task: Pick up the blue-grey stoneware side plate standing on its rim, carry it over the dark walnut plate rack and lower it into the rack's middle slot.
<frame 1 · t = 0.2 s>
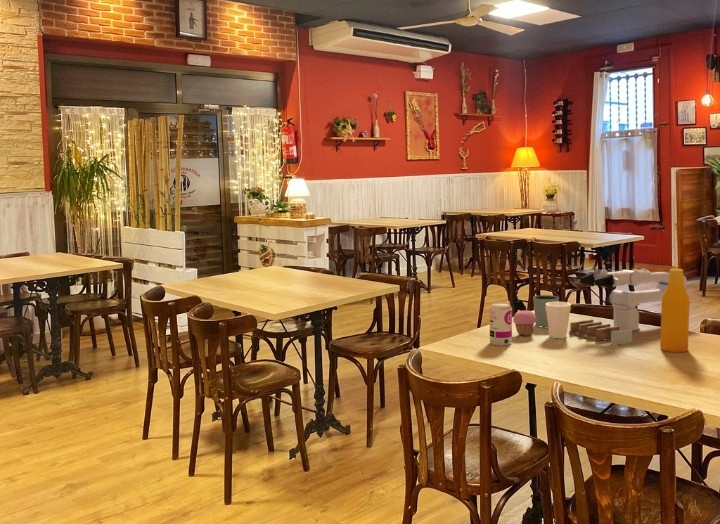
hand: (587, 281, 279), 21 cm above the table, tool horizontal, fingers open, 7 cm apart
foam cup: (557, 337, 282), on the table
plate: (621, 343, 269), on the table
grey-green pot: (545, 325, 302), on the table
rack: (594, 335, 282), on the table
beer bottle: (673, 349, 259), on the table
cupcake: (524, 335, 286), on the table
supplement can: (500, 344, 274), on the table
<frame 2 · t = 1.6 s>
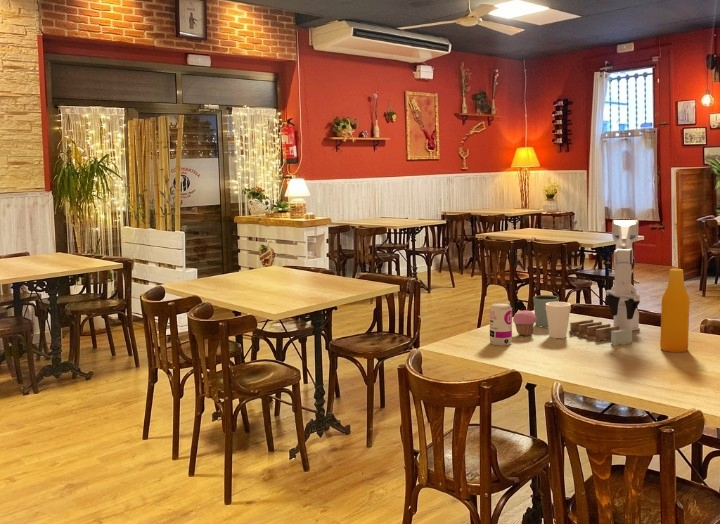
hand: (622, 317, 268), 10 cm above the table, tool pointing down, fingers open, 7 cm apart
nothing on the table moved.
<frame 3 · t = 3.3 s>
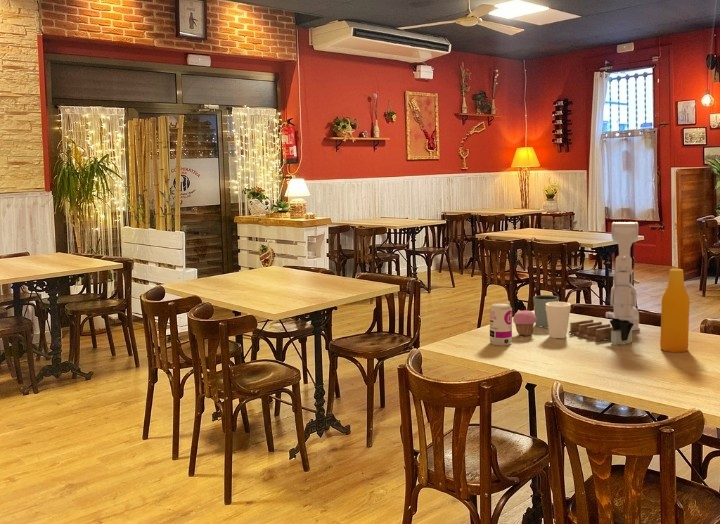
hand: (621, 339, 269), 1 cm above the table, tool pointing down, fingers closed on plate, 2 cm apart
plate: (621, 343, 269), on the table, touching gripper
everything else where it was.
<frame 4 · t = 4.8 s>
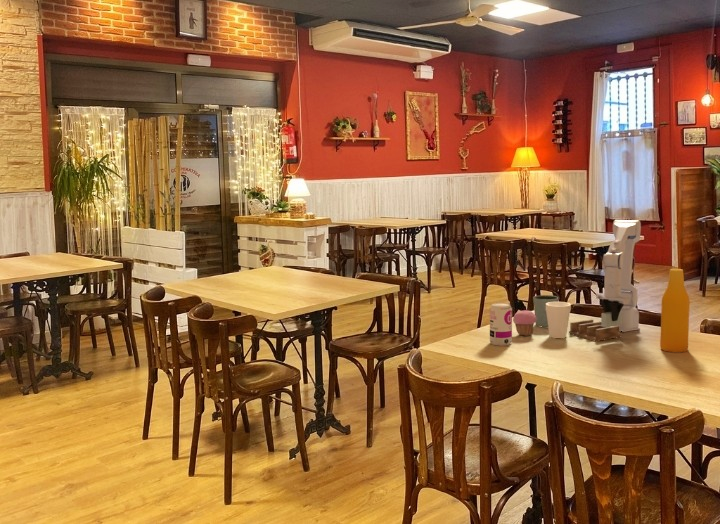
hand: (611, 320, 273), 8 cm above the table, tool pointing down, fingers closed on plate, 2 cm apart
plate: (611, 325, 273), point 6 cm above the table, touching gripper
everything else where it was.
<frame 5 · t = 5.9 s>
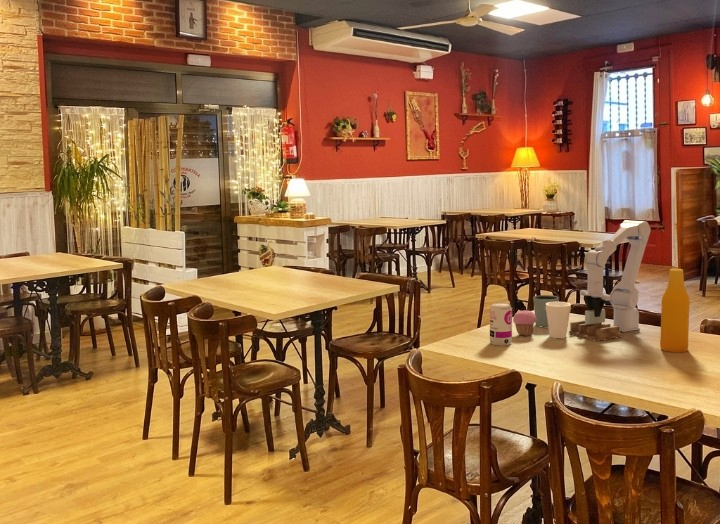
hand: (594, 316, 281), 8 cm above the table, tool pointing down, fingers closed on plate, 2 cm apart
plate: (595, 322, 281), point 5 cm above the table, touching gripper
everything else where it was.
when the fingers open (5 cm above the table, at t = 6.8 s): plate stays where it is, resting on rack.
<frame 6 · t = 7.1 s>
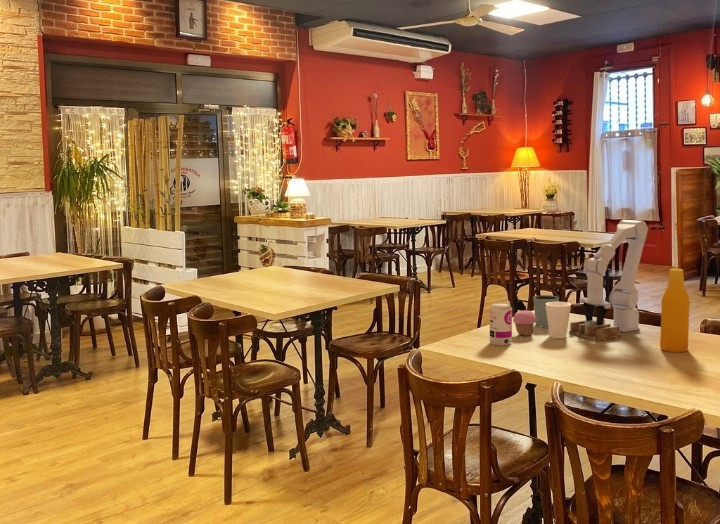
hand: (594, 323, 281), 5 cm above the table, tool pointing down, fingers open, 5 cm apart
plate: (594, 333, 282), point 1 cm above the table, touching rack
everything else where it was.
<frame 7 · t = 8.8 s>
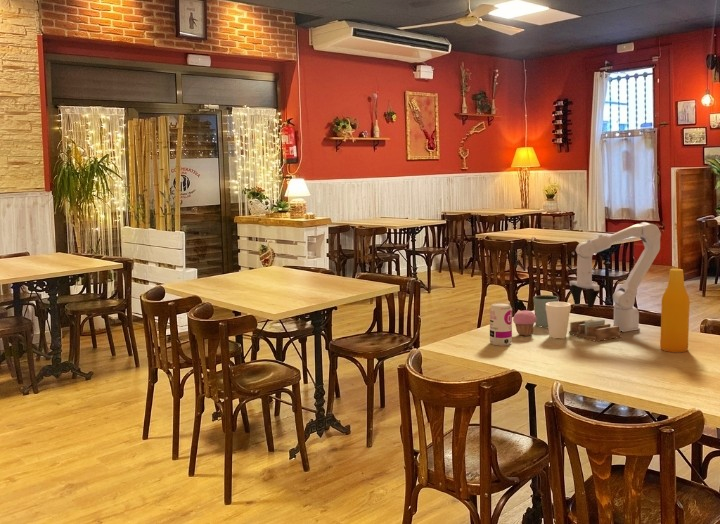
hand: (583, 305, 291), 10 cm above the table, tool pointing down, fingers open, 7 cm apart
nothing on the table moved.
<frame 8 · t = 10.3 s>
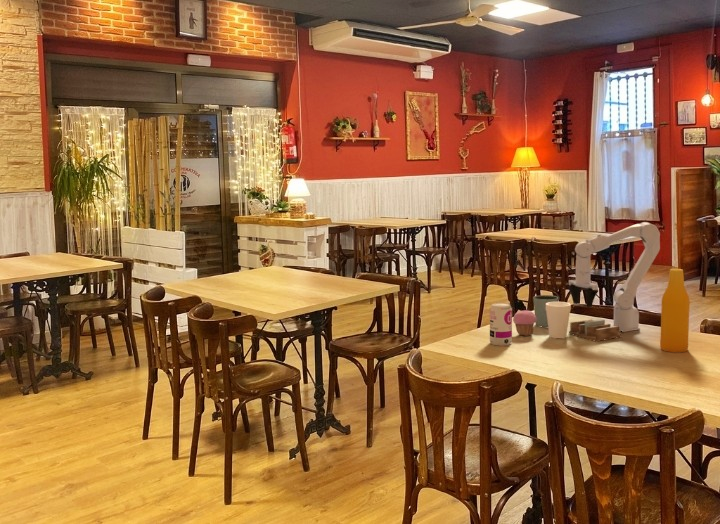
hand: (582, 305, 292), 10 cm above the table, tool pointing down, fingers open, 7 cm apart
nothing on the table moved.
at the end: plate 0.2 cm off-centre on the rack, point 1.0 cm above the rack's base; plate tilted 0°; the gripper is holding nothing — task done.
